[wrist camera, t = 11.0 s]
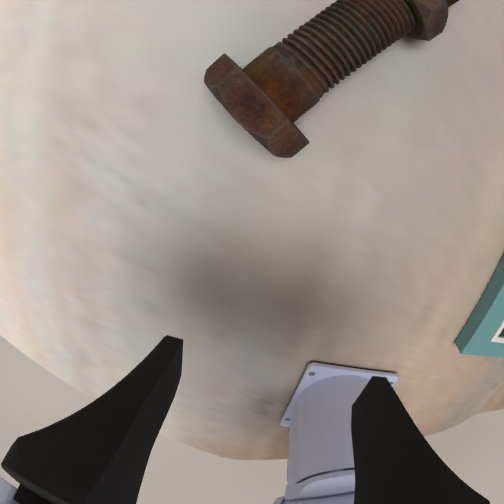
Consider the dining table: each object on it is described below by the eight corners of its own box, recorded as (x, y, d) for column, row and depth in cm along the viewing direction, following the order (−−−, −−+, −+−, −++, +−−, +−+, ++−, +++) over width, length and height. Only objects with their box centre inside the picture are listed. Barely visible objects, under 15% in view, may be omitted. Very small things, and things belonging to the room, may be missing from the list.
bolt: (435, -4, 12) (259, 124, 17) (400, -69, 8) (197, 68, 14) (506, 20, 8) (295, 180, 14) (476, -63, 5) (214, 106, 10)
